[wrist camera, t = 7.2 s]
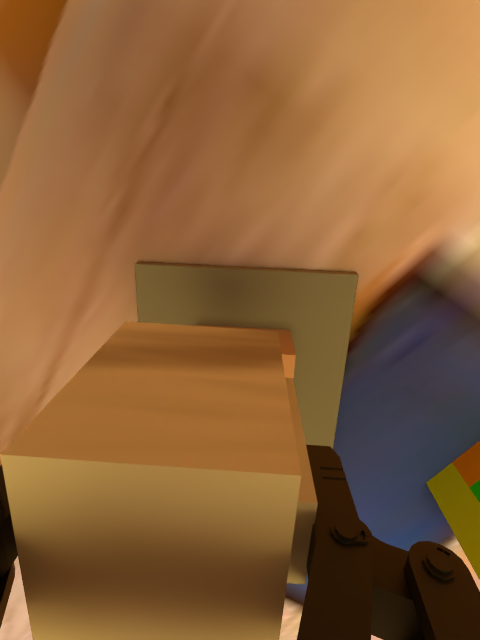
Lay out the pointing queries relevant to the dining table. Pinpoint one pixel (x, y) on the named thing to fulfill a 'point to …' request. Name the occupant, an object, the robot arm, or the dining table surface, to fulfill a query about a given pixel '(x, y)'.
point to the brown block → (159, 490)
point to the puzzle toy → (462, 501)
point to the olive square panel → (265, 320)
